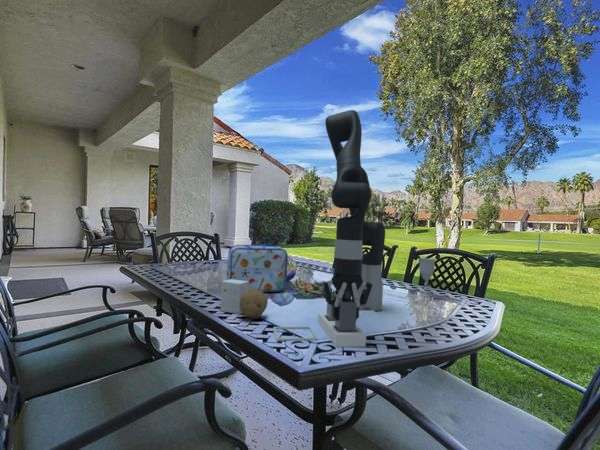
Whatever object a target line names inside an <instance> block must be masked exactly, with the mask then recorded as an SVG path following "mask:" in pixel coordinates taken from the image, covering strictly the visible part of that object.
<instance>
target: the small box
mask: <svg viewBox="0 0 600 450" xmlns="http://www.w3.org/2000/svg"><path fill="white" fill-rule="evenodd" d="M220 285H221V287H220V288H221V290H220V291H221V292H220V311H221V312H225V313H231V314H236V315H241V314H243V313H242V312H241V310H240V300H241V297H242V296H243V295H244V294H245V293H246V292H247V291H249V281H242V280H234V279H229V280H227V279H225V280H222V281H221V283H220Z"/></svg>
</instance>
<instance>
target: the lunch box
mask: <svg viewBox="0 0 600 450" xmlns="http://www.w3.org/2000/svg"><path fill="white" fill-rule="evenodd" d="M288 255H289V254H288V252H287V250H286V249H284V248H282V247H280V246H277V245H275V242H272V243H269V244H267V243H266V244H235V245H232V246H231V247H230V248H229V250H228V254H227V266H226V280H229V279H234V280H242V281H249V290H251V289H257V290H260V291H262V292H263V293H274V292H276V293H277V292H281V291H283V290H284V289H285V288H286V284H287V278H288V277H287V276H288V261H289V260H288Z"/></svg>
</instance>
